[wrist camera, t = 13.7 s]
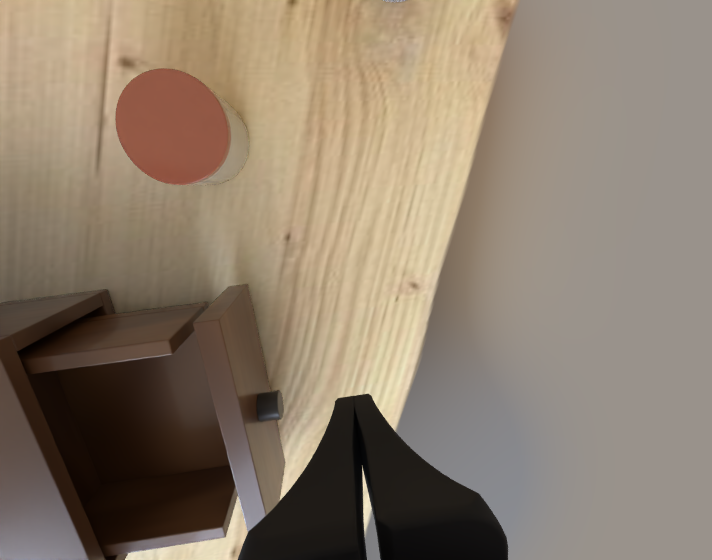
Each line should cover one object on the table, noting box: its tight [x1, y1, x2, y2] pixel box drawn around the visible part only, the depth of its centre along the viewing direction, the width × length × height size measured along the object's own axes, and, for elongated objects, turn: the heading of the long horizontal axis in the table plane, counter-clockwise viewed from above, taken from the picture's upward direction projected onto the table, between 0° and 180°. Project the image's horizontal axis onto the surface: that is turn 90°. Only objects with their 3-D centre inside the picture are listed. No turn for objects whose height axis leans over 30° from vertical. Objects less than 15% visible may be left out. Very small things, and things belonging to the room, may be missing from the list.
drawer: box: [17, 284, 285, 557], centre depth 20 cm, size 14×13×6 cm
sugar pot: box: [116, 69, 249, 185], centre depth 17 cm, size 5×5×4 cm
